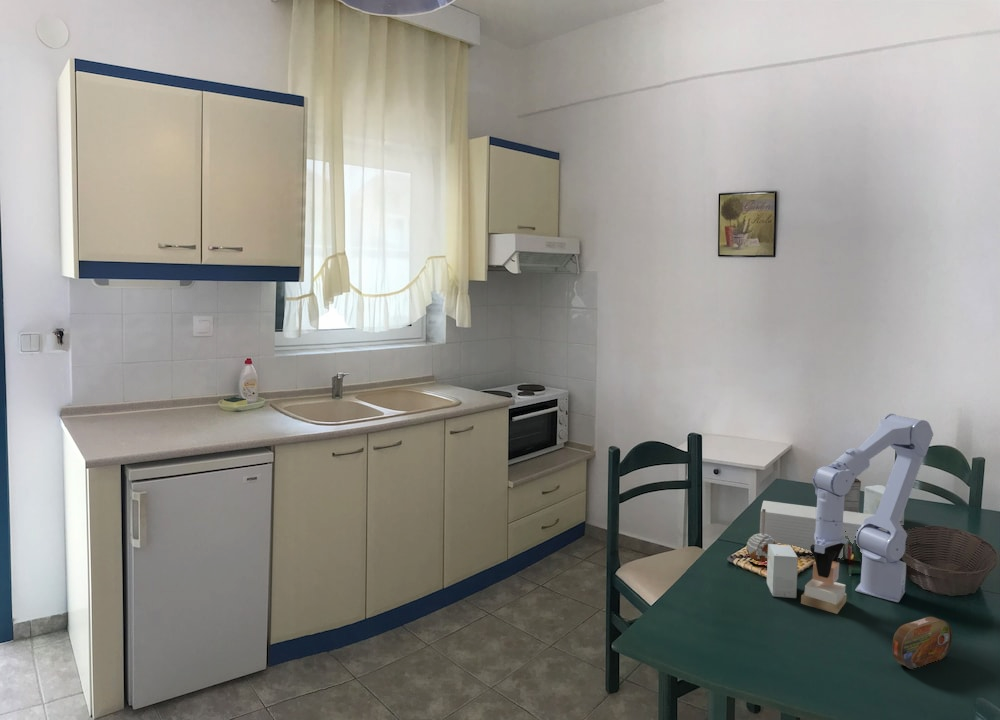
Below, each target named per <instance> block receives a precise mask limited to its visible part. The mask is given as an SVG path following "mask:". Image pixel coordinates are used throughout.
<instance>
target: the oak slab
mask: <svg viewBox="0 0 1000 720" xmlns="http://www.w3.org/2000/svg"><path fill="white" fill-rule="evenodd" d="M847 595H848V594H847V593H845V595H844V596H843V597H842V599H841V600H840V601H839V602H838V603H837V604H836V605H835V604H832V603H828V602H825V601H822V600H818V599H815V598H812V597H808V596H805V591H804V592H803V593H802V594H801V596H800V604H802V605H805V606H808V607H813V608H816V609H819V610H822V611H825V612H829V613H833V614H835V615H837V614H839V612H841V611H840V610H842V608H843V607H844V606H845V604H846V603H847Z"/></svg>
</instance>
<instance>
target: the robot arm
mask: <svg viewBox="0 0 1000 720" xmlns="http://www.w3.org/2000/svg"><path fill="white" fill-rule="evenodd" d="M933 437H934V432H933V430H932V426H931V424H930V423H929V422H928V421H927V420H925V419H917V418H912V417H911V418H910V417H907V416H901V415H897V414H895V413H888V414H886V415H885V416H884V417H883V418H882V419H880V420H878V424H877V429H876V430H875V432H873V433H872V434H871V436H869V437H868V438H867V439H866V440H865V441H864V442H863V443H862V444H861V445H860V446H858V448H854V447H853V448H847V449H846V450H845V451H844V453H842V455H840V456H839V457H838V458H836V459H835V460H834V461H833V462H831V463H830V464H829V465H828V466H827V465H824V466H821V467H819V468H817V469H816V470H815V472H814V474H813V477H812V478H811V481H812V485H813V487H814V489H815V493H814V494H815V496H816V497H817V499H816V507H817V512H816V530H815V533H814V538H815V545H814V544H812V545H811V547H810V550H811V552H812V554H813V555H812V554H811V555H812V556H813V558H814V562H816V566H817V572H818V576H821V577H825V578H828V577H829V574H830V570H831V566H832V562H833V561H835V562H838V561H839V559H838V557H839V554H840V552H841V550H842V548H843V547H844V545H845V544H846V543H847V541H848V539H846V538H843V537H842V529H843V513H844V497H845V494H846V493H848V492H849V490H850V488H851V486H852V484H853V483H854V481H855V478H857V477H859V476H860V475H861V474H862V473H864V472H865V471H866V470H867V469H868V468H869V467H870V464H871V463H870V462H871V461H870V460H871V459H873V458H874V457H875V456H877V455H878V454H880V453H882V452H883V451H884V450H886V449H887V448H888V447H891V449H893V450H894V451H895V454H896V458H895V461H894V464H893V467H892V469H891V472H890V475H889V477H888V480H887V482H886V485H885V487H886V488H885V491H884V493H883V496H882V499H881V502H880V504H879V507H878V510H877V513H876V514H875V515H873V516H870V517H868V518H865V519H864V522H863V524H862V526H861V527H860V528H859V529H858V531H857V533H856V538H855V540H856V544H857V546H858V547H859V548H860V552H861V553H862V562H861V568H860V569H861V571H860V572H861V573H860V583H858V585H857V586H856V588H855V591H856V592H858V593H861V594H865V595H868V596H871V597H872V596H873V597H876V598H880V599H882V600H883V599H884V600H887V601H891V602H895V603H899V602H900V601H901V599H902V598H903V596H904V594H905V592H906V577H907V563H906V562H905V561H901V560H900V559H901V558H903V557H904V554H905V552H906V540H907V537H908V533H907V531H906V530H905V529H904V526H901V525H900V521H901V518H902V515H903V512H904V513H905V509H906V506H907V504H908V502H909V499H910V495H911V492H912V490H913V487H914V484H915V482H916V479H917V476H918V475H919V471H920V468H921V465H922V462H923V460H924V458H925V457H926V456H927V453H928V450H929V449H930V448H929V447H930V444H931V443H932V442H931V441H932V439H933ZM878 528H883V529H886V530H888V531H887V532H885V531H882V530H880V529H878Z"/></svg>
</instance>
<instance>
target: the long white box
mask: <svg viewBox="0 0 1000 720" xmlns="http://www.w3.org/2000/svg"><path fill="white" fill-rule="evenodd" d="M762 509H766V510H765V532H764V534H767V535H769V536H771V537H772V538H773V539H774V540H775V541H776V543H781V544H789V545H793V546H797V547H800V548H803V549H807V550H810V547H811V545H812V544H814V545H815V538H814V533H815V530H816V512H817V506H809V505H803V504H802V505H801V504H793V503H785V502H778V501H771V500H770V501H769V500H763V501H762V504H761V509H760V518H759V519H760V520H759V534H760V533H761V530H762ZM870 516H873V514H865V513H864V512H859V513H857V512H849V511H844V513H843V529H842V537H843V538H845V536H848V538H849V540H850V542H851V543H852V544H853V543H854V540H855V536H856V533H857V530H858V529H859V528H860V527H861V526H862V524H863V522H864V519H865V518H868V517H870ZM878 529H880V530H882V531H885V532H889V531H888V530H886V529H883V528H878ZM845 531H846V532H845ZM810 551H811V550H810ZM842 557H843V548H842V550H841V552H840V554H839V557H838V558H840V560H842V559H841V558H842Z"/></svg>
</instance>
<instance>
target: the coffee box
mask: <svg viewBox="0 0 1000 720" xmlns="http://www.w3.org/2000/svg"><path fill="white" fill-rule="evenodd" d="M861 485H862V481H861V480H860V479H858V478H857V477H856V478H855V481H854V483H853V484H852V486H851V488H850V490H849V492H848V493H846V494H845V497H844V511H849V512H857V513H860V502H861V501H860V499H861Z"/></svg>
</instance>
